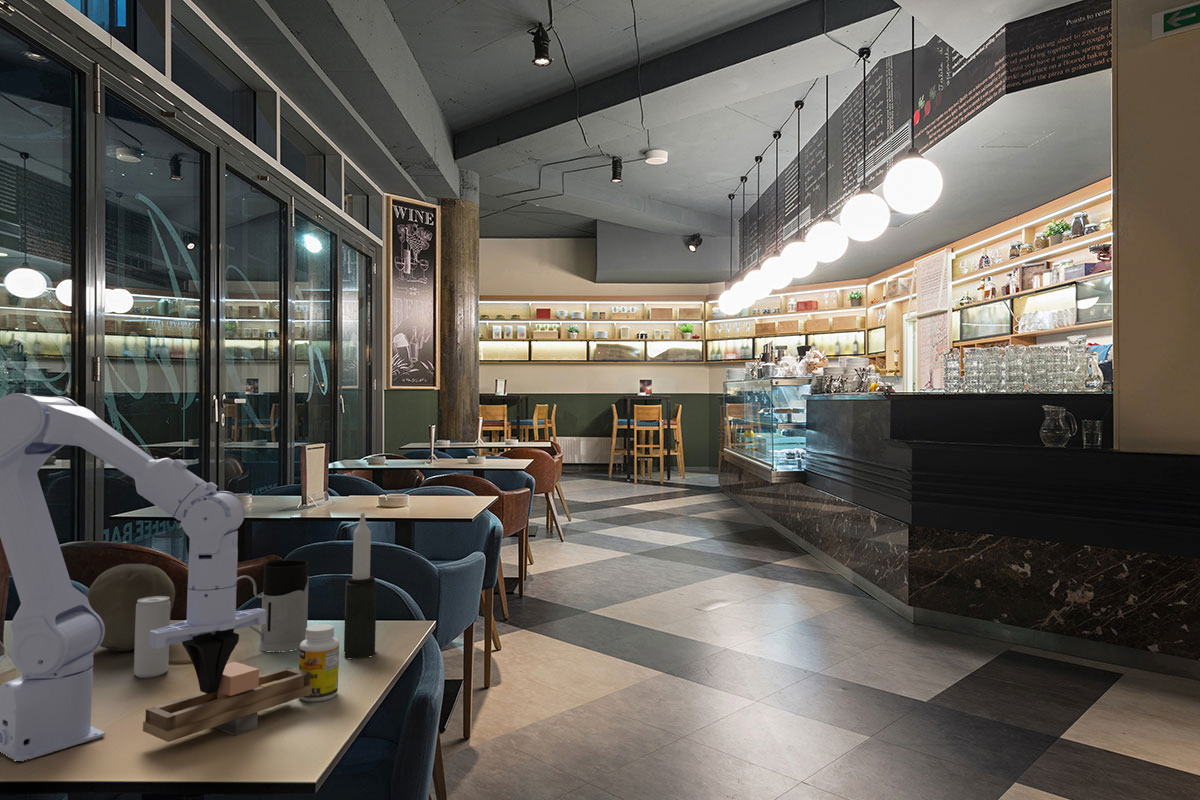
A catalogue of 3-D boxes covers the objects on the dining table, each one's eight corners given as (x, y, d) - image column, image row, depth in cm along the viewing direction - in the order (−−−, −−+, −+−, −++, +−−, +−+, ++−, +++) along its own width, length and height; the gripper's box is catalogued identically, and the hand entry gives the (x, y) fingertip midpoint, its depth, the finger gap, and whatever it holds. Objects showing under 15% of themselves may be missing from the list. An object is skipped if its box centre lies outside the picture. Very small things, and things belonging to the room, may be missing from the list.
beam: (168, 759, 89) (170, 718, 89) (141, 747, 93) (142, 707, 93) (312, 708, 106) (313, 673, 106) (284, 699, 110) (285, 665, 110)
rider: (229, 709, 96) (230, 677, 96) (205, 700, 99) (206, 669, 99) (258, 700, 100) (259, 669, 100) (233, 691, 103) (234, 661, 103)
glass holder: (317, 645, 137) (320, 563, 137) (237, 662, 126) (240, 573, 127) (296, 636, 143) (299, 557, 143) (218, 651, 132) (221, 567, 133)
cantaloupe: (165, 655, 130) (168, 569, 131) (69, 663, 125) (73, 573, 125) (178, 634, 143) (181, 556, 144) (92, 641, 138) (95, 560, 139)
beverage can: (151, 679, 117) (154, 603, 118) (125, 677, 118) (128, 601, 119) (175, 670, 122) (177, 596, 123) (149, 668, 123) (152, 595, 124)
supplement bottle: (289, 698, 110) (291, 628, 110) (320, 687, 115) (322, 620, 115) (315, 705, 107) (317, 634, 108) (345, 694, 112) (347, 625, 112)
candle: (375, 656, 131) (378, 513, 132) (344, 659, 129) (348, 514, 130) (373, 648, 135) (376, 510, 136) (343, 651, 133) (347, 511, 134)
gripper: (172, 600, 89) (168, 715, 88) (280, 580, 101) (278, 681, 101) (142, 592, 93) (138, 703, 92) (250, 574, 105) (247, 671, 104)
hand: (209, 691), depth 97 cm, fingers closed
